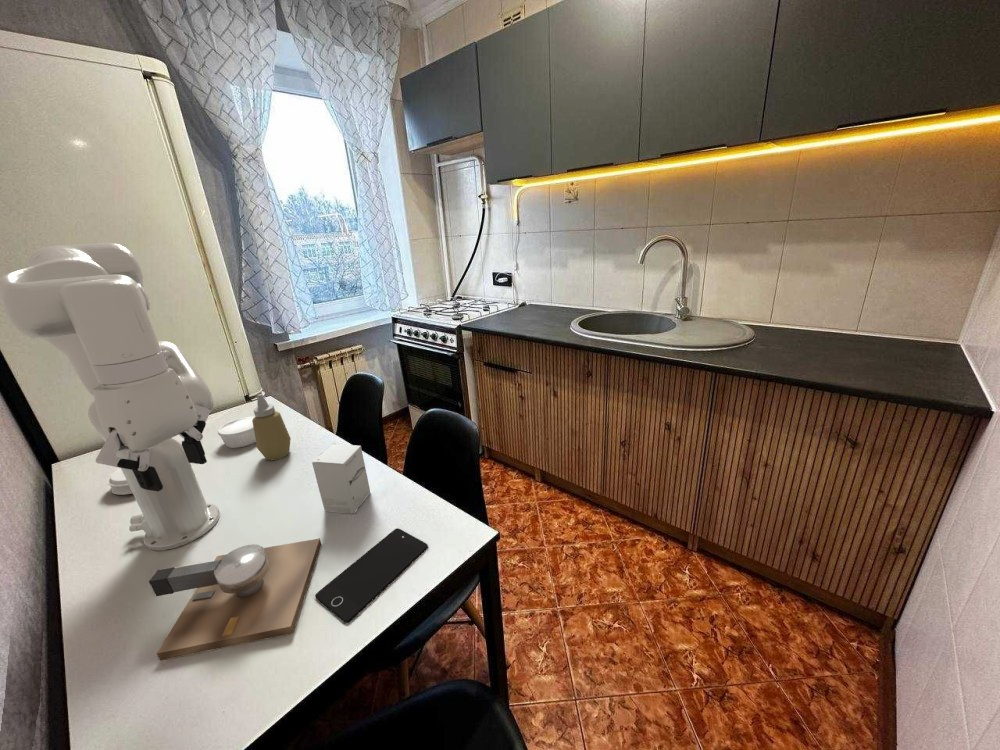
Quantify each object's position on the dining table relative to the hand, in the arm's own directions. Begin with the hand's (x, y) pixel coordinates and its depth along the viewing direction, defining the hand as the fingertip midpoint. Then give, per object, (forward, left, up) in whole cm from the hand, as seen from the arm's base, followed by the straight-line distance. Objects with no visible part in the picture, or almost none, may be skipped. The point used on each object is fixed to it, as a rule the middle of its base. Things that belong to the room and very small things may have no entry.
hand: (176, 474), depth 62 cm
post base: (+7, -5, -22) cm, 23 cm away
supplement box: (+19, +16, -22) cm, 33 cm away
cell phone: (+27, -5, -22) cm, 36 cm away
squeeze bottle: (-4, +42, -22) cm, 47 cm away
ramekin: (-17, +54, -22) cm, 60 cm away
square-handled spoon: (+3, -5, -17) cm, 18 cm away
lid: (-34, +38, -22) cm, 55 cm away
